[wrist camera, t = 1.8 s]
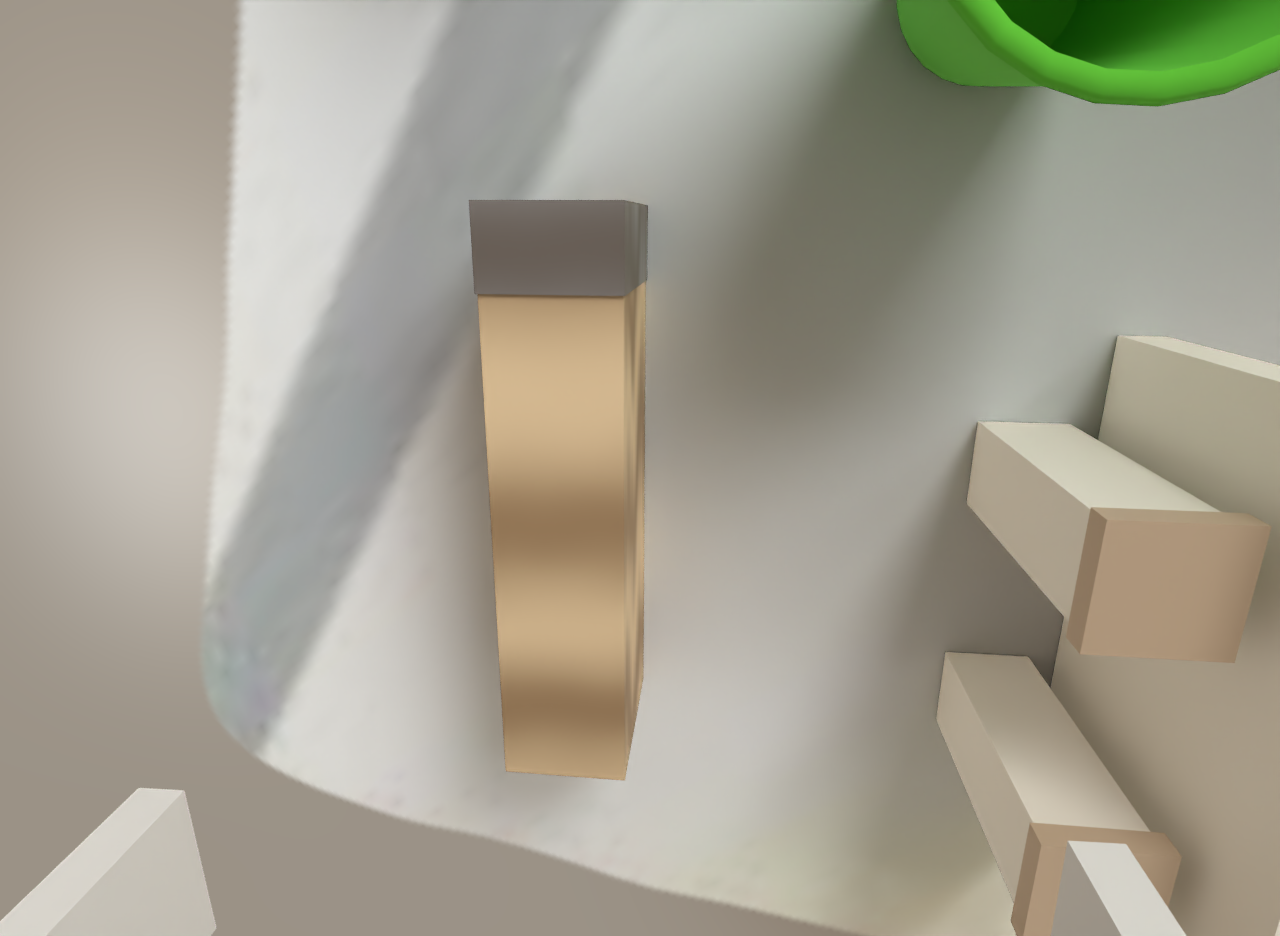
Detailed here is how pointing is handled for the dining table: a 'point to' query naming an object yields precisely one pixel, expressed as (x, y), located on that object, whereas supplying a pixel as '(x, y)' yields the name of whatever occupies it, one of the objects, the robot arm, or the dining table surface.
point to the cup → (1098, 45)
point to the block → (565, 473)
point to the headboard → (1138, 642)
